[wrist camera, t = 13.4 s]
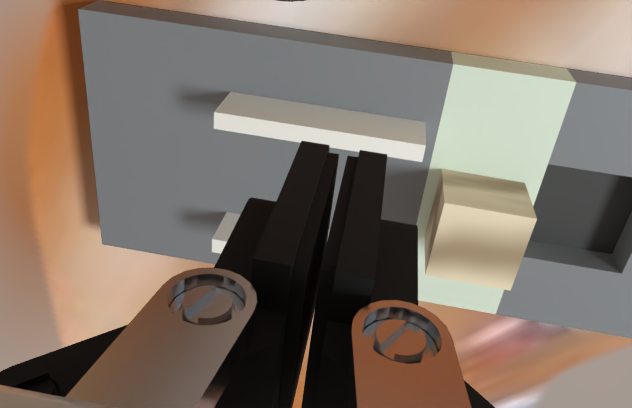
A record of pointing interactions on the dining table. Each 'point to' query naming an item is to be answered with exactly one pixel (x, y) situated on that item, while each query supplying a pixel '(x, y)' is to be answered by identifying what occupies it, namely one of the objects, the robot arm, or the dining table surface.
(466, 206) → the birch block
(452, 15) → the dining table surface
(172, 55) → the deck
